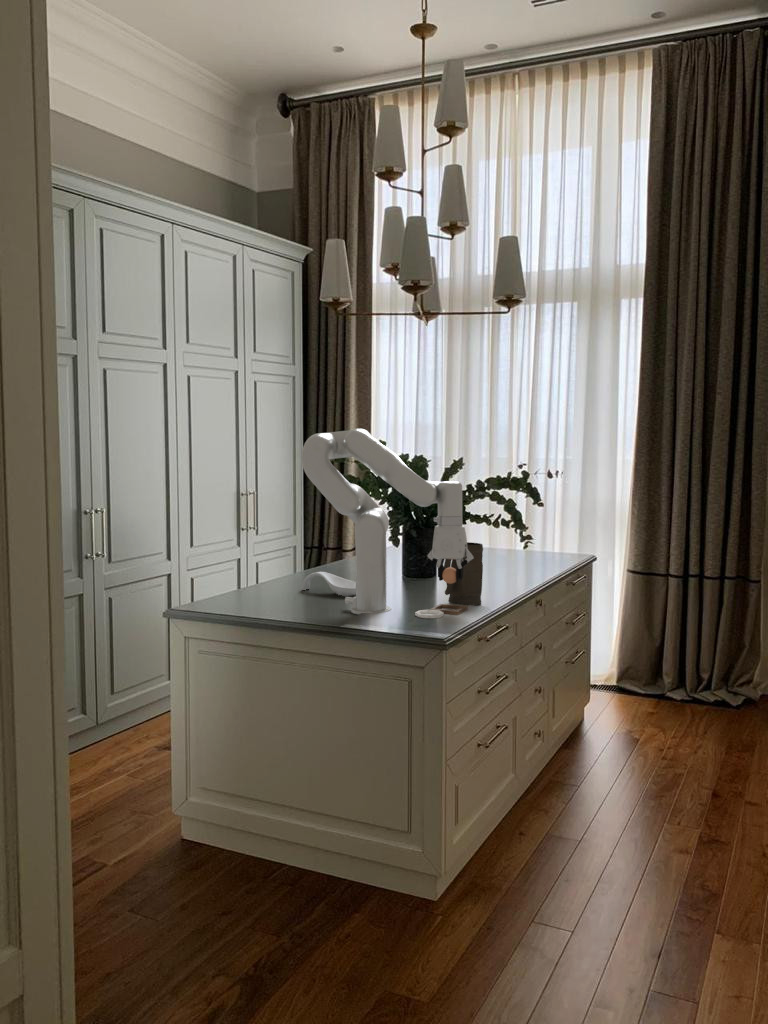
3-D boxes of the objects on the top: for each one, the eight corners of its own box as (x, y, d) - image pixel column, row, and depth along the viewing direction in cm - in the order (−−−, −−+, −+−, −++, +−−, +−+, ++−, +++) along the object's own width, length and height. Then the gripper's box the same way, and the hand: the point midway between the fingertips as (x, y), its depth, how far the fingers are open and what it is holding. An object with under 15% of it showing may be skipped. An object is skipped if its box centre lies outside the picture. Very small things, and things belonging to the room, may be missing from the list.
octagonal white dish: (412, 620, 274) (412, 613, 274) (421, 615, 282) (421, 608, 282) (437, 622, 271) (437, 616, 271) (446, 617, 279) (446, 611, 278)
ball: (439, 584, 281) (439, 568, 281) (445, 581, 286) (445, 565, 285) (455, 585, 279) (455, 569, 279) (460, 582, 284) (460, 566, 283)
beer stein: (461, 599, 307) (462, 540, 306) (488, 603, 301) (489, 542, 299) (434, 606, 296) (435, 544, 294) (462, 610, 289) (462, 547, 287)
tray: (430, 615, 281) (430, 609, 281) (440, 610, 289) (440, 603, 289) (457, 618, 278) (458, 611, 277) (467, 612, 286) (467, 606, 286)
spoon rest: (370, 594, 318) (370, 573, 317) (353, 599, 307) (353, 578, 307) (312, 588, 329) (312, 568, 328) (294, 593, 318) (294, 573, 318)
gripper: (419, 522, 281) (420, 580, 283) (472, 523, 274) (473, 584, 276) (428, 519, 288) (428, 577, 289) (480, 521, 281) (480, 580, 283)
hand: (450, 579), depth 283 cm, fingers closed on ball, 4 cm apart
